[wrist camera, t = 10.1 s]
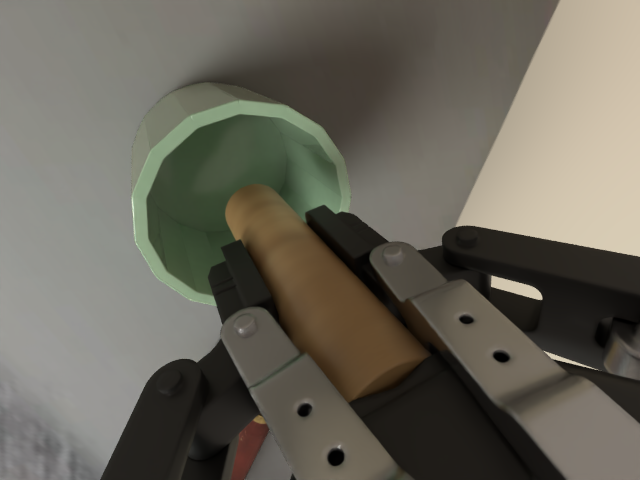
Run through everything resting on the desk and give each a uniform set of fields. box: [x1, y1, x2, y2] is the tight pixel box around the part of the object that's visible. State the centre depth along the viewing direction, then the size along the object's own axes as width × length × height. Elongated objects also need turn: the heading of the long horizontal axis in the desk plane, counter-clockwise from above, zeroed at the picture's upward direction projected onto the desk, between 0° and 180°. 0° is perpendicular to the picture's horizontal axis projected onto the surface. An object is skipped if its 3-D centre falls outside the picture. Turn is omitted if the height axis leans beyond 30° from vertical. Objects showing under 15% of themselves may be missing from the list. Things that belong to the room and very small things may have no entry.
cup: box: [131, 82, 351, 306], centre depth 18 cm, size 9×9×8 cm
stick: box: [225, 184, 432, 403], centre depth 11 cm, size 2×2×10 cm
